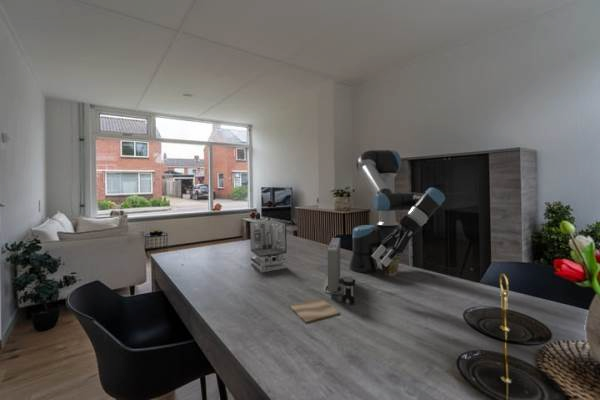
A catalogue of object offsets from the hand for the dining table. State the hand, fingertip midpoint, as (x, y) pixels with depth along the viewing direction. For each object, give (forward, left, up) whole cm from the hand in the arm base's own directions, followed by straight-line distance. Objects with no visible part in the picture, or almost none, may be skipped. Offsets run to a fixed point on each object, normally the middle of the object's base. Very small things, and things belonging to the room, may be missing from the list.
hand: (378, 261), depth 110 cm
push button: (-4, -12, -16) cm, 21 cm away
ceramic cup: (-23, +28, -16) cm, 40 cm away
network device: (-21, -7, -16) cm, 28 cm away
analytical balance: (-63, -24, -16) cm, 70 cm away
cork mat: (-4, -27, -16) cm, 32 cm away
